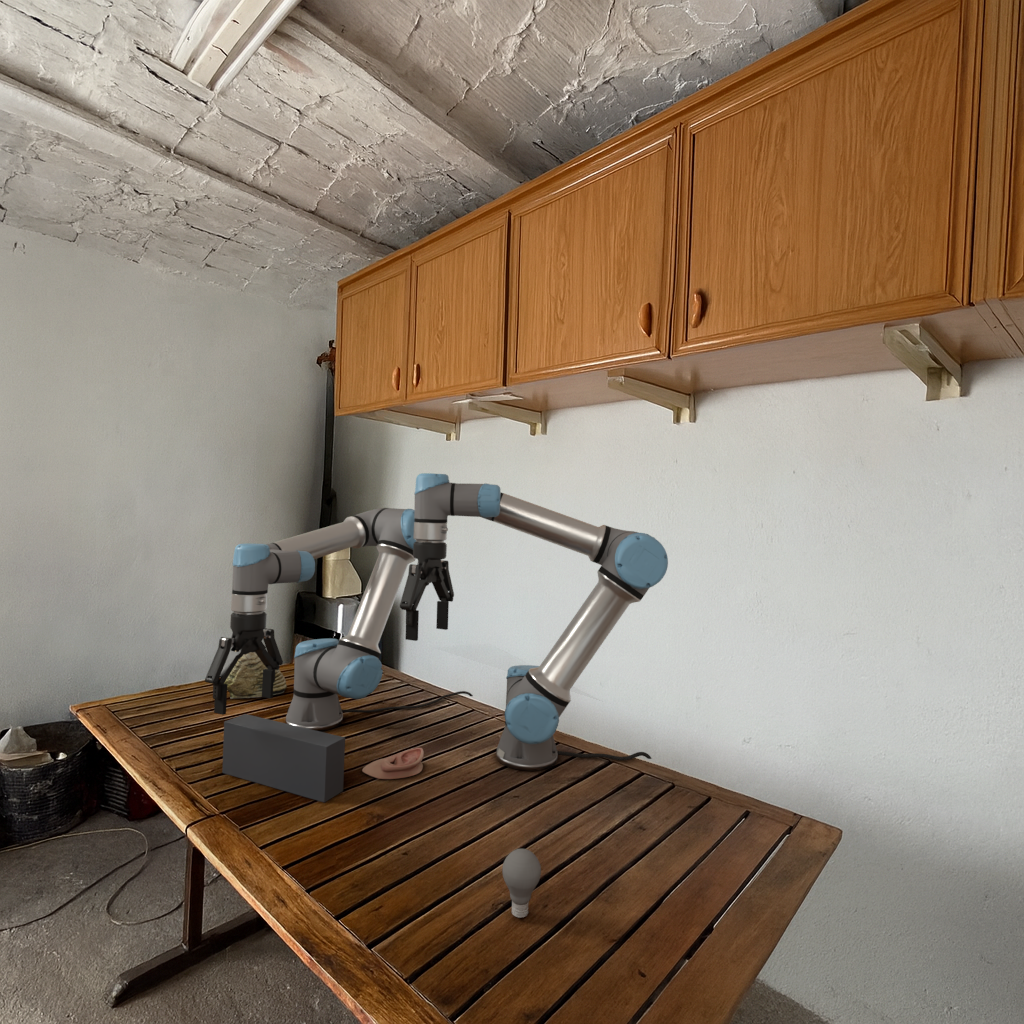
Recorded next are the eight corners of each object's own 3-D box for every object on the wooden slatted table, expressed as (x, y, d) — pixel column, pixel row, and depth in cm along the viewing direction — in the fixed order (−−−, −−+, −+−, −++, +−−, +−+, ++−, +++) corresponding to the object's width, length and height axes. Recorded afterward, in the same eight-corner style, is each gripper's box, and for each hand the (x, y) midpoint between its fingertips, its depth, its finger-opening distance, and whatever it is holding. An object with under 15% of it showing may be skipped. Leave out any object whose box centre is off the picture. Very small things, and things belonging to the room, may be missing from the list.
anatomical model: (356, 758, 144) (377, 740, 155) (356, 775, 144) (376, 756, 155) (412, 766, 141) (429, 746, 152) (411, 783, 141) (428, 763, 153)
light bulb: (499, 902, 101) (501, 840, 101) (536, 902, 101) (539, 840, 101) (501, 928, 95) (504, 862, 95) (541, 927, 95) (544, 862, 95)
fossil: (218, 695, 195) (220, 647, 195) (278, 685, 208) (279, 640, 207) (228, 703, 189) (230, 653, 188) (289, 692, 201) (290, 645, 201)
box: (222, 772, 143) (224, 721, 143) (243, 763, 148) (245, 713, 148) (324, 802, 131) (326, 746, 131) (343, 790, 137) (345, 737, 137)
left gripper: (215, 621, 131) (210, 724, 131) (300, 606, 154) (296, 693, 154) (189, 617, 134) (185, 717, 134) (277, 603, 157) (273, 688, 157)
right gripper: (415, 545, 131) (412, 647, 132) (469, 539, 154) (466, 626, 155) (384, 543, 134) (382, 642, 134) (442, 538, 157) (440, 623, 157)
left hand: (244, 705), depth 144 cm, fingers open, 13 cm apart
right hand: (427, 634), depth 144 cm, fingers open, 13 cm apart
